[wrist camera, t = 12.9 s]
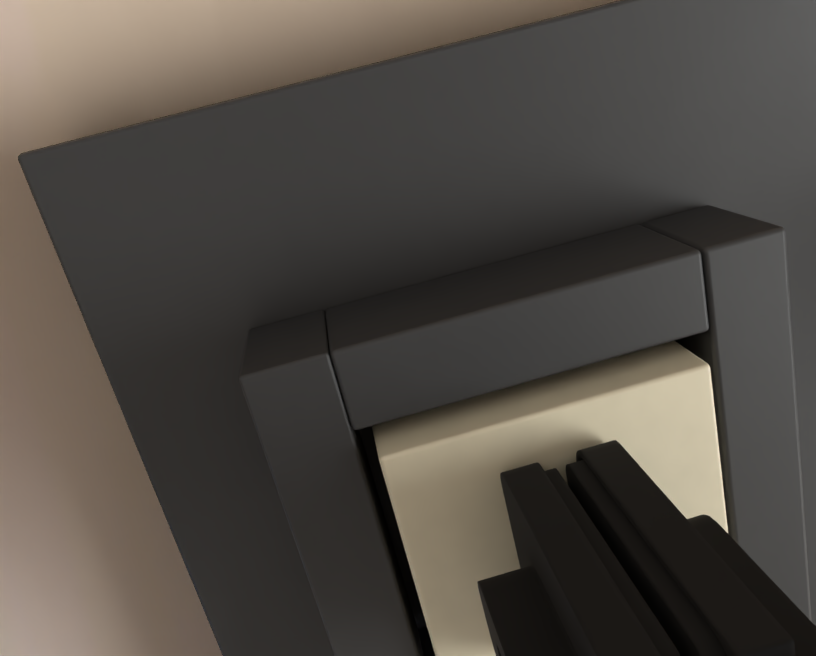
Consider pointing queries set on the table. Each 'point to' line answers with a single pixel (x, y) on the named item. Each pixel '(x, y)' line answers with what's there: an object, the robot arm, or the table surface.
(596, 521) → the robot arm
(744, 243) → the keyboard block
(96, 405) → the table surface
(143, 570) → the table surface
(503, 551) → the key
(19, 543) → the table surface
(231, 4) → the table surface
